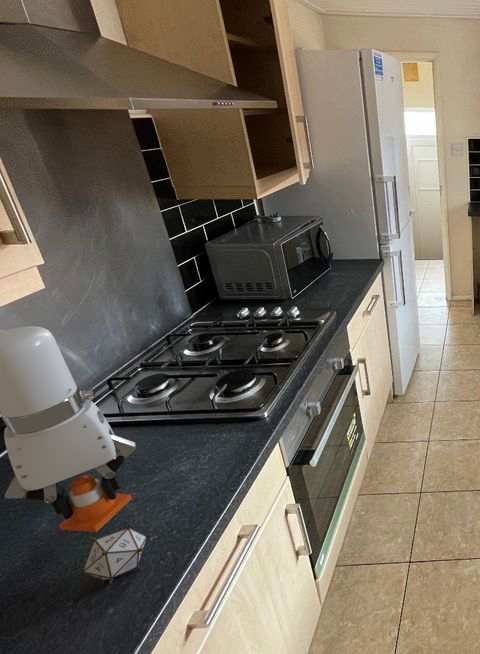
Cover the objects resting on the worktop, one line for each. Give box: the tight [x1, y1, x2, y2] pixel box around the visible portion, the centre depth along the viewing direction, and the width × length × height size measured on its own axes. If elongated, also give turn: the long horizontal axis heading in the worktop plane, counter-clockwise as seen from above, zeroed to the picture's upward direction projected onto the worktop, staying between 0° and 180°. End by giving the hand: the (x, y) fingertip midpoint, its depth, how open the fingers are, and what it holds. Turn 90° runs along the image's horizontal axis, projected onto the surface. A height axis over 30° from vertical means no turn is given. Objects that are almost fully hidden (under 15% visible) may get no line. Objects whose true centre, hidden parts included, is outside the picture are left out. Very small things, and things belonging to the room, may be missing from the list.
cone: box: [58, 474, 133, 533], centre depth 66 cm, size 6×6×8 cm
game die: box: [75, 522, 153, 586], centre depth 70 cm, size 9×8×10 cm
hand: (92, 502), depth 66 cm, fingers closed on cone, 4 cm apart
